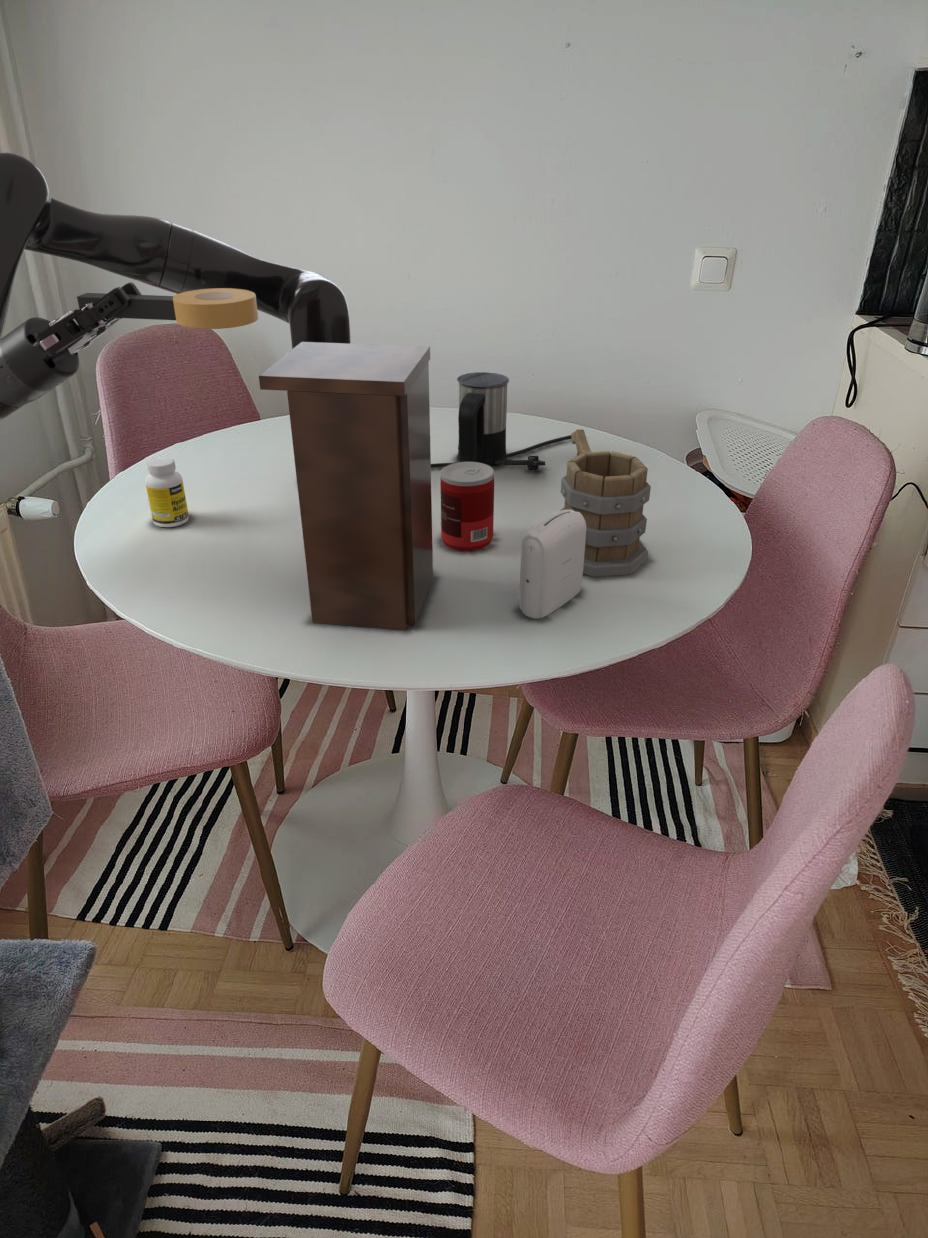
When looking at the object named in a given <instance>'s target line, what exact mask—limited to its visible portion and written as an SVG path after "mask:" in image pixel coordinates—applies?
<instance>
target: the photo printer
mask: <svg viewBox="0 0 928 1238" xmlns="http://www.w3.org/2000/svg"><path fill="white" fill-rule="evenodd" d="M585 540H586V522H585V519H584V517H583V516H582V514H581V513H580V512H575V511H573V510H562V511H560V510H557V511H555V512H553V513H550V514H548V515H546V516H545V517H543V518H542V519H541V520H539V521H538V522H537V523H536V524H534V525H533V526H532V527H531V528H530V529H529V530H528V532H526V534H525V535H524V537H523V539H522V541H521V545H520V571H519V573H520V575H519V599H518V600H519V602H518V605H519V606H518V607H519V609H520V610H521V613H522V614H523V615H525V616H526V617H527V618H531V619H537V620H539V619H543V618H545V617H547V616H550V614H551V613H553V612H555V611H556V610H558V609H559V608H561V607H563V606H564V605H565V604H566V603H568V602H569V601H571V600H572V599H573V598H574V597H576V596H577V595H578V594H579V593H580V592H581V590H582V587H583V579H584V578H583V577H584V574H583V566H584V554H585Z"/></svg>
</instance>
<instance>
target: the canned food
mask: <svg viewBox="0 0 928 1238" xmlns="http://www.w3.org/2000/svg"><path fill="white" fill-rule="evenodd" d="M457 462H458V461H457ZM453 463H454V464H450V465H448V466H446V467H442V469H441V470H440V474H439V475H440V477H439V482H440V484H439V485H440V487H439V488H440V491H439V493H440V533H441V534H440V536H441V537H440V538H441V540H442V543H443V545H444V546H445V547H447V548H448V549H450V550H453V551H457V552H465V553H466V552H476V551H480V550H483V549H485V548H487V547H488V546H490V544H491V543H492V540H493V538H494V524H495V523H494V519H495V517H494V516H495V515H494V514H495V483H496V482H495V477H496V476H495V475H496V474H495V470H494V467H490V466H488V465H486V464H483V463H478V462H458V463H455V462H453Z"/></svg>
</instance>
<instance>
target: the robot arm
mask: <svg viewBox="0 0 928 1238" xmlns="http://www.w3.org/2000/svg"><path fill="white" fill-rule="evenodd" d="M25 250H26V251H30V252H36V253H39V254H45V255H50V256H54V257H58V258H63V259H68V260H72V261H74V262H75V261H76V262H78V263H79V262H80V263H83V264H87V265H90V266H93V267H95V268H97V269H101V270H104V271H107V272H110V273H113V274H115V275H119V276H121V277H124V278H127V279H130V280H133V281H138V282H139V283H143V284H146V285H148V286H151V287H154V288H158V289H159V290H160V289H161V290H163V291H167V292H170V293H173V294H175V295H177V294H180V293H183V292H187V291H193V290H200V289H213V288H232V289H243V290H248V291H251V292H254V293H255V295H256V302H257V311H259V312H262V313H265V314H267V315H269V316H271V317H274V318H276V319H278V320H281V321H283V322H285V323H286V324H289V328H290V329H289V330H290V331H289V332H290V339H291V350H292V349H293V348H294V347H296V346H297V345H298V344H300V343H301V342H320V343H346V344H352V341H351V323H350V322H351V321H350V310H349V305H348V300H347V298H346V295H345V294H344V292H343V291H342V290H341V289H340V287H339V286H338V285H337V284H336V283H334V282H333V281H332V280H331V279H329V278H328V277H327V276H325V275H323V274H321V273H318V272H315V271H311V270H306V269H300V268H296V267H291V266H288V265H283V264H280V263H275V262H273V261H272V262H271V261H269V260H265V259H261V258H258V257H256V256H253V255H251V254H248V253H246V252H244V251H243V250H240V249H238V248H236V247H234V246H232V245H230V244H228V243H226V242H224V241H221V240H219V239H217V238H214V237H212V236H209V235H206V234H204V233H201V232H199V231H197V230H194V229H192V228H189V227H186V226H183V225H180V224H177V223H174V222H171V221H170V220H166V219H162V218H159V217H154V216H146V215H136V214H135V215H133V214H110V213H99V212H94V211H90V210H86V209H83V208H79V207H76V206H74V205H72V204H69V203H66V202H63V201H61V200H58V199H55V198H54V197H52V195H51V190H50V186H49V184H48V182H47V179H46V177H45V175H44V174H43V172H42V171H41V170H40V169H39V168H38V167H37V166H36V165H35V164H34V163H33V162H32V161H31V160H29V159H28V158H27V157H25V156H22V155H20V154H16V153H13V152H12V153H11V152H0V421H2V420H4V419H6V418H8V417H9V416H10V415H12V414H13V413H15V412H16V411H18V410H19V409H21V408H22V407H24V406H25V405H28V404H30V403H33V402H34V401H37V400H38V399H40V398H41V397H43V396H44V395H46V394H47V393H49V392H50V391H52V390H53V389H55V388H56V387H58V386H60V385H61V384H62V383H64V382H65V381H67V380H69V379H70V378H71V377H73V376H74V375H76V373H77V372H78V371H79V368H80V357H79V353H78V352H79V351H83V350H85V349H87V348H89V346H92V345H93V344H94V343H95V340H96V339H98V338H99V337H100V336H103V335H104V334H105V333H107V332H108V331H109V330H110V329H111V327H112V326H113V325H114V324H116V323H117V322H119V321H120V320H122V319H123V318H112V317H114V316H115V315H117V314H118V313H120V312H121V311H123V310H124V309H125V308H127V307H128V306H130V305H131V301H130V299H129V297H128V296H127V294H130V295H143V294H142V293H141V291H140V290H139V289H138V287H137V285H136V284H135V283H134V282H131V281H130V282H127V283H125V284H123V285H122V286H117V287H114V288H113V289H111V290H109V292H107V293H105V294H106V295H104V296H103V297H101V298H100V299H99V300H97V301H96V302H94V303H88V304H86V306H85V307H84V308H83V309H79V308H75V309H72V310H70V311H68V312H67V313H66V314H64V315H63V316H62V317H58V318H57V319H53V320H52V321H50V320H49V319H46V318H43V317H38V316H37V317H30V318H28V319H26V320H25V321H24V322H22V323H21V324H20V325H18V326H17V327H15V328H14V329H13V330H11V331H10V332H8V333H7V334H6V335H4V336H3V334H4V330H5V325H6V322H7V316H8V313H9V306H10V302H11V301H10V300H11V295H12V293H13V286H14V281H15V278H16V276H17V275H16V274H17V271H18V268H19V265H20V262H21V259H22V256H23V253H24V251H25ZM94 304H95V305H96V306H95V305H94ZM568 440H571V434H570V435H565V436H560V437H556V438H552V439H549V440H546V441H542V442H540V443H537V444H534V445H532V446H528V447H526V448H522V449H519V450H515V451H513V452H509V453H506V457H507V459H508V458H512V457H515V456H516V457H517V456H519V455H523V454H526V453H528V452H531V451H534V450H536V449H539V448H542V447H545V446H548V445H552V444H556V443H559V442H564V441H568ZM454 463H458V461H456V462H438V463H437V462H436V463H431V469H435V468H444V467H446V466H448V465H450V464H454Z"/></svg>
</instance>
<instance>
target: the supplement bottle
mask: <svg viewBox="0 0 928 1238" xmlns="http://www.w3.org/2000/svg"><path fill="white" fill-rule="evenodd" d="M146 467H147V472H148V474H147V476H146V477H145V481H144V483H145V488H146V494H147V498H148V504H149V509H150V514H151V519H152V523H153V524H154V525H155V526H157V527H162V528H173V527H179V526H182V525H183V524H185V523H187V522H188V520H189V518H190V517H189V510H188V504H187V498H186V491H185V486H184V485H185V484H184V480H183V476H182V474H181V473H179V472H178V471H177V468H176V467H177V466H176V462H175V458H172V457H169V456H159V457H153V458H151V459H149V460H147V462H146Z"/></svg>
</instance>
